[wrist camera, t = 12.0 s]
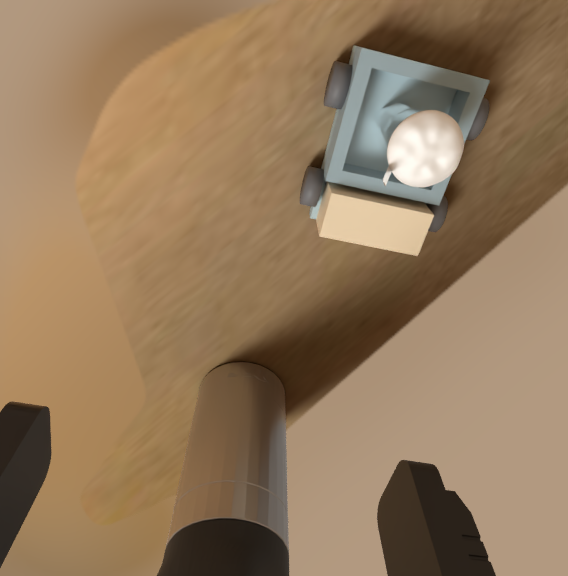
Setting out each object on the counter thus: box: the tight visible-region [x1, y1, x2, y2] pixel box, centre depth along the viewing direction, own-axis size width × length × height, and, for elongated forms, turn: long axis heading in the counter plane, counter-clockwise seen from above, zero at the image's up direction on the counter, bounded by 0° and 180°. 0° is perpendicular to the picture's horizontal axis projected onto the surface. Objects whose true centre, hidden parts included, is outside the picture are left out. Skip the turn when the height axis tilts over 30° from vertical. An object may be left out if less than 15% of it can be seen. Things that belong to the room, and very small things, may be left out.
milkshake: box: [375, 102, 464, 187], centre depth 31 cm, size 4×5×10 cm
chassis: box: [300, 45, 490, 256], centre depth 35 cm, size 13×11×5 cm
